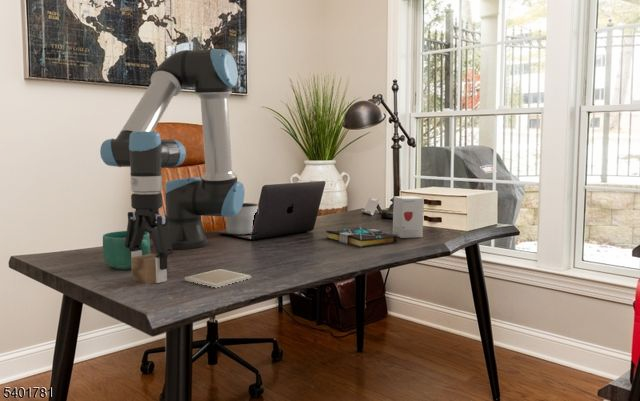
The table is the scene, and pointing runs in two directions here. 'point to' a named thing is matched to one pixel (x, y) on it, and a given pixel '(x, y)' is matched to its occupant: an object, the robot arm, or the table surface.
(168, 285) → the table surface
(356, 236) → the book
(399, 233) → the supplement box
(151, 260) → the walnut cube
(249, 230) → the planter
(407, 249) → the table surface
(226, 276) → the coaster
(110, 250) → the mug
